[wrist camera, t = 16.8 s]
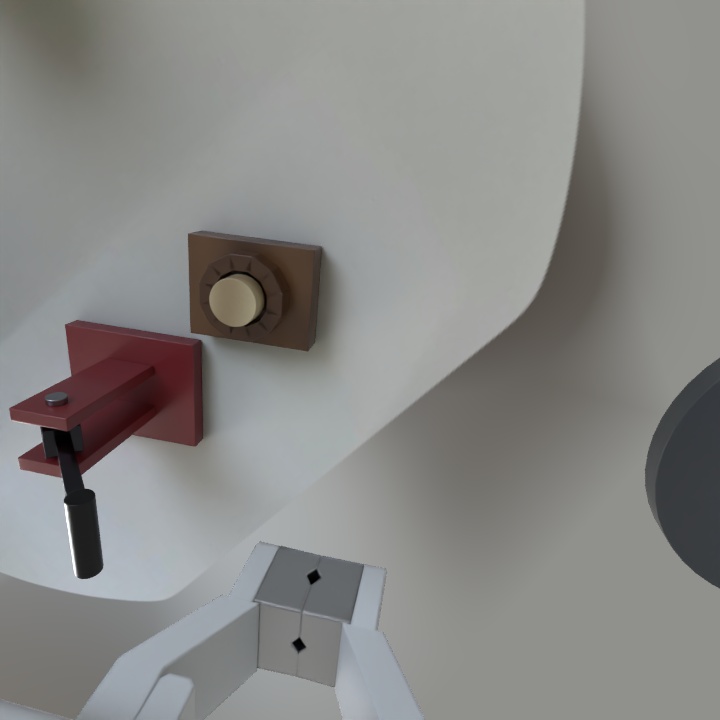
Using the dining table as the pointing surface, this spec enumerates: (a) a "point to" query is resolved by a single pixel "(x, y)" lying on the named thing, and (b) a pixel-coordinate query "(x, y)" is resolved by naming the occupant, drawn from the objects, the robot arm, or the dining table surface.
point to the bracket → (118, 393)
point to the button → (236, 300)
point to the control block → (274, 275)
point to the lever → (76, 501)
